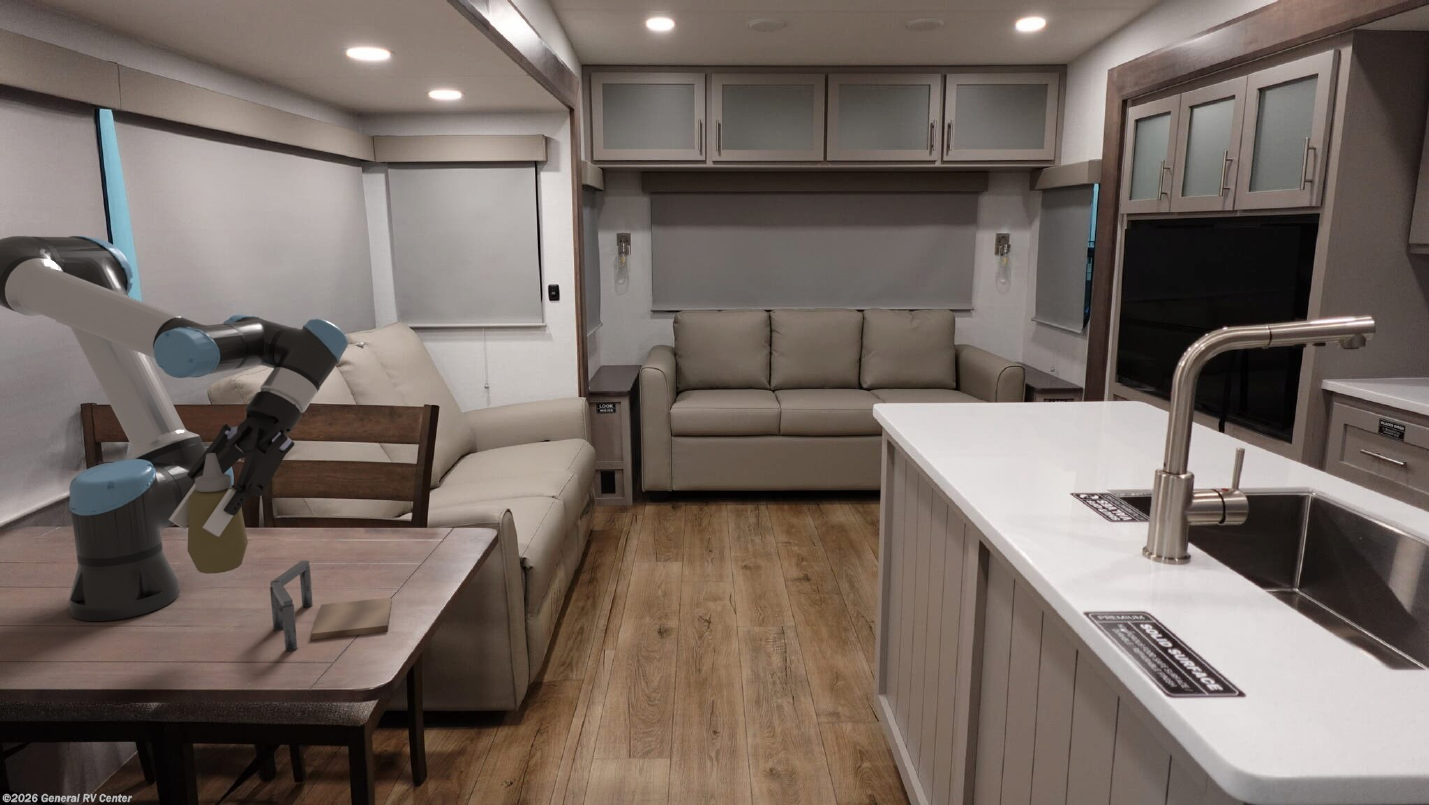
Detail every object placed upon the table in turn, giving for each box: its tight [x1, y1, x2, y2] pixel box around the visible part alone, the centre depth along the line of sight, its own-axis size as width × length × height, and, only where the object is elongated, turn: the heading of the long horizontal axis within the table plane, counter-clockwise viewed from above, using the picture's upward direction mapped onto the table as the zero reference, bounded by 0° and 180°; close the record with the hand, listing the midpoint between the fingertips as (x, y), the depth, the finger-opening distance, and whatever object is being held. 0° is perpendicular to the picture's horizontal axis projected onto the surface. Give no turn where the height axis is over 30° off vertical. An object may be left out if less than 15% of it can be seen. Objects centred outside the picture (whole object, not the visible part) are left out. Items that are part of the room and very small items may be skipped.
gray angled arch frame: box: [269, 560, 314, 653], centre depth 133 cm, size 5×18×8 cm, turn 18°
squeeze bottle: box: [186, 453, 249, 575], centre depth 127 cm, size 8×8×18 cm
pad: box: [311, 597, 393, 641], centre depth 136 cm, size 11×11×1 cm
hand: (193, 528), depth 124 cm, fingers closed on squeeze bottle, 6 cm apart
